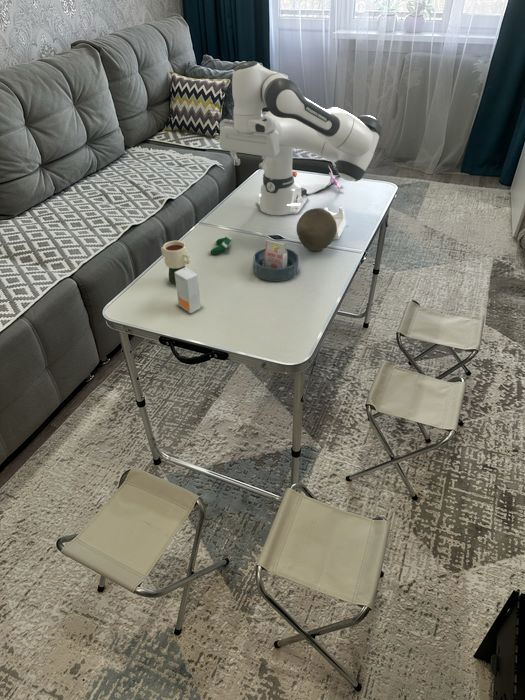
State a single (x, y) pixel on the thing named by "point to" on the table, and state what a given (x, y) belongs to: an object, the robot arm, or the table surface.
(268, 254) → the white printed carton
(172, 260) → the character mug
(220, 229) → the table surface
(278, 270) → the bowl
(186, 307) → the cosmetic box
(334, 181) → the lily
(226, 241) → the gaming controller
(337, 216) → the bracket
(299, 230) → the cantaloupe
